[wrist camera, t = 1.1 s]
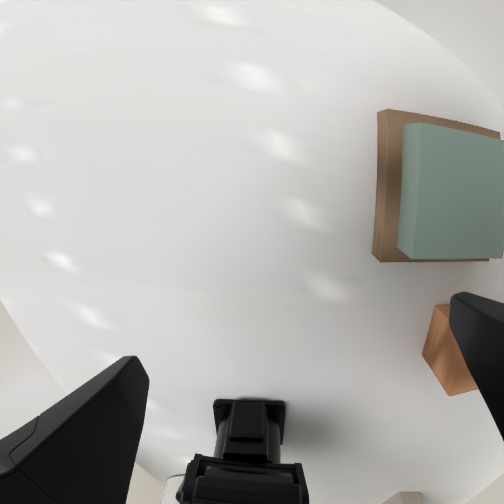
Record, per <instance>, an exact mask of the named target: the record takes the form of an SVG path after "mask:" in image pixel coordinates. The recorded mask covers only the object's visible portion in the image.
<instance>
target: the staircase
mask: <svg viewBox="0 0 504 504" xmlns="http://www.w3.org/2000/svg"><path fill="white" fill-rule="evenodd" d="M383 504H423V501H422V498H421V495H420V492H399V493H397V494H396V495H395V496H393V497H392V498H390V499H389V500H387V501H386V502H384V503H383Z"/></svg>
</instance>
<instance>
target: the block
mask: <svg viewBox="0 0 504 504" xmlns="http://www.w3.org/2000/svg"><path fill="white" fill-rule="evenodd" d="M449 312H450V304H446V305H435V307H434V311H433V315H432V319H431V323H430V327H429V331H428V335H427V338H426V342H425V345H424V349H423V352H422V356H423V357H424V359H425V360H426V362H427V363H428V365H429V366H430V368H431V369H432V371H433V373H434V374H435V376H436V377H437V379H438V380H439V382H440V383H441V385H442V387H443V388H444V390H445V391H446V393H447V395H448V396H453V395H457V394H461V393H465V392H469V391H473V390H477V389H478V387H477V385H476V383H475V381H474V379H473V377H472V376H471V374H470V372H469V370H468V368H467V365H466V363H465V361H464V358H463V356H462V354H461V351H460V349H459V347H458V345H457V342H456V340H455V338H454V336H453V333H452V331H451V329H450V326H449Z"/></svg>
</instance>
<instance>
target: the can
mask: <svg viewBox="0 0 504 504" xmlns="http://www.w3.org/2000/svg"><path fill="white" fill-rule="evenodd" d="M184 477H185V475H177V476H173V477H171V478H169V479H168V480H167V482H166V485H165V488H164V492H163V495H162V499H161V503H160V504H179V502H178V501H177V500H176V493H177V491H178V489H179V487H180V485H181V483H182V481H183V479H184Z"/></svg>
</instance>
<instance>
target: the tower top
mask: <svg viewBox="0 0 504 504" xmlns="http://www.w3.org/2000/svg"><path fill="white" fill-rule="evenodd" d="M402 128H403V150H402V183H401V201H400V214H399V226H398V236H397V245H396V247H397V248H398V249H400V250H401V251H402V252H403V253H405V254H406V255H407V256H408V257H410V258H411V259H475V258H502V256H503V251H504V141H503V140H499V139H495V138H492V137H488V136H484V135H480V134H476V133H471V132H467V131H463V130H458V129H453V128H448V127H443V126H438V125H433V124H427V123H421V122H418V123H412V124H406V125H402Z"/></svg>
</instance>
